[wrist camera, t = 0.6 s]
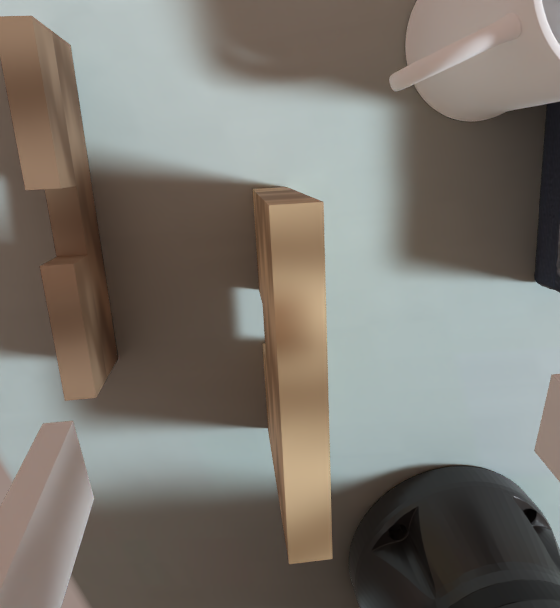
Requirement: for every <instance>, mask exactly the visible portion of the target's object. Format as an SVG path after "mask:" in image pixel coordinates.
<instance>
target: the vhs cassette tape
mask: <svg viewBox="0 0 560 608" xmlns="http://www.w3.org/2000/svg"><path fill="white" fill-rule="evenodd" d="M534 277H535V280H536V282H537V283H538V284H540V285H542V286H544V287H547V288H549V289H553V290H556V291H558V292H560V102H554V103H549V104H547V111H546V124H545V138H544V152H543V164H542V178H541V191H540V205H539V222H538V237H537V250H536V268H535V275H534Z"/></svg>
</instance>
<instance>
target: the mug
mask: <svg viewBox="0 0 560 608" xmlns="http://www.w3.org/2000/svg"><path fill="white" fill-rule="evenodd" d="M405 53H406V61H407V66H406V67H405V68H403V69H401V70H399V71H397V72H395V73H393V74H392V75H391V76H390V78H389V83H390V86H391V88H392V89H393V90H394V91H400V90H402V89H405V88H407V87H409V86H411V85H414V86H415V88H416V89H417V91H418V93H419V94H420V95H421V97H422V98H423V99H424V100H425V101H426V102H427V103H428V104H429V105H430V106H431V107H432V108H433V109H435V110H436V111H437V112H439V113H441V114H443V115H445V116H447V117H449V118H452V119H456V120H460V121H482V120H487V119H490V118H493V117H496V116H498V115H501V114H503V113H505V112H506V111H512V110H517V109H522V108H527V107H533V106H538V105H543V104H549V103H554V102H560V0H417V1H416V3H415V5H414V7H413V10H412V12H411V15H410V18H409V22H408V26H407V31H406V40H405Z"/></svg>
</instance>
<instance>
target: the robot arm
mask: <svg viewBox="0 0 560 608" xmlns="http://www.w3.org/2000/svg"><path fill="white" fill-rule="evenodd" d="M534 451H535V452H536V453H537V455H538V456H539V457H540V458H541V460H542V461H543V462H544V463H545V464H546V466H547V467H548V468H549V469H550V471H551V472H552V473H553V474H554V475H555V477H556V478H557V479H558V480H559V482H560V374H553V375H551V380H550V384H549V388H548V393H547V397H546V402H545V406H544V410H543V415H542V419H541V424H540V428H539V432H538V437H537V441H536V445H535V450H534ZM93 501H94V495H93V492H92V488H91V484H90V481H89V477H88V474H87V470H86V466H85V463H84V459H83V455H82V452H81V448H80V444H79V441H78V437H77V433H76V430H75V426H74V422H73V421H65V422H54V423H44V424H42V426H41V428H40V430H39V432H38V434H37V436H36V438H35V440H34V442H33V444H32V446H31V448H30V450H29V452H28V454H27V455H26V457H25V459H24V461H23V463H22V465H21V467H20V469H19V471H18V473H17V475H16V477H15V479H14V481H13V483H12V485H11V487H10V488H9V490H8V493H7V494H6V496H5V498H4V501H3V502H2V504H1V506H0V608H61V606H62V603H63V599H64V596H65V593H66V590H67V587H68V583H69V580H70V577H71V573H72V570H73V567H74V564H75V560H76V557H77V554H78V550H79V547H80V544H81V541H82V537H83V534H84V531H85V527H86V524H87V521H88V517H89V514H90V511H91V508H92V504H93ZM349 571H350V577H351V581H352V584H353V588H354V591H355V594H356V598H357V601H358V604H359V607H360V608H560V549H559V547H558V544H557V542H556V539H555V537H554V534H553V532H552V529H551V527H550V525H549V523H548V521H547V519H546V518H545V516H544V515H543V513H542V512H541V511H540V509H539V508H538V507H537V506H536V505H535V504H534V502H533V501H532V500H531V499H530V498H529V497H528V496H527V495H526V494H525V492H524V491H523V490H522V489H521V488H520V487H519V486H518V485H516V484H515V483H514V482H513V481H511V480H510V479H508V478H506V477H505V476H503V475H501V474H498V473H496V472H493V471H490V470H487V469H482V468H477V467H467V466H456V467H446V468H440V469H435V470H431V471H428V472H425V473H422V474H419V475H417V476H414V477H412V478H410V479H408V480H406V481H404V482H402V483H401V484H399V485H397V486H396V487H394V488H393V489H392V490H390V491H389V492H388V493H386V494H385V495H384V496H383V497H382V498H380V499H379V500H378V501H377V502H376V503H375V504H374V506H373V507H372V508H371V509H370V510H369V511H368V513H367V514H366V515H365V517H364V518H363V520H362V521H361V523H360V525H359V527H358V529H357V531H356V533H355V535H354V538H353V541H352V545H351V549H350V555H349Z"/></svg>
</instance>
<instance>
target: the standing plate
mask: <svg viewBox="0 0 560 608" xmlns="http://www.w3.org/2000/svg"><path fill="white" fill-rule="evenodd" d="M0 58H1V64H2V69H3V74H4V80H5V85H6V90H7V96H8V101H9V106H10V111H11V117H12V122H13V127H14V133H15V138H16V143H17V149H18V154H19V159H20V165H21V170H22V175H23V180H24V186H25V190H40V189H45V194H46V200H47V206H48V211H49V217H50V223H51V228H52V234H53V239H54V245H55V251H56V256H57V257H56V258H54V259H52V260H50V261H48V262H46V263H45V264H43V265H41V266H40V271H41V276H42V281H43V287H44V292H45V297H46V302H47V308H48V313H49V318H50V324H51V329H52V334H53V340H54V345H55V350H56V355H57V361H58V366H59V371H60V377H61V382H62V387H63V393H64V398H65V401H67V400H78V399H89V398H96V397H97V396H98V394H99V392H100V390H101V388H102V387H103V385H104V383H105V381H106V379H107V378H108V376H109V374H110V372H111V370H112V369H113V367H114V365H115V363H116V361H117V360H118V355H117V348H116V341H115V335H114V328H113V322H112V315H111V309H110V302H109V295H108V289H107V282H106V276H105V269H104V262H103V256H102V249H101V243H100V236H99V229H98V223H97V216H96V210H95V203H94V197H93V190H92V183H91V177H90V170H89V164H88V157H87V150H86V144H85V137H84V131H83V124H82V117H81V111H80V104H79V98H78V91H77V84H76V78H75V71H74V65H73V58H72V52H71V45H70V44H68V43H67V42H66V41H64V40H63V39H62V38H60V37H59V36H58V35H56V34H55V33H54V32H53V31H51V30H50V29H49V28H47V27H46V26H45V25H43V24H42V23H41V22H39V21H38V20H37V19H35V18H34V17H33V16H5V17H0Z"/></svg>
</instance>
